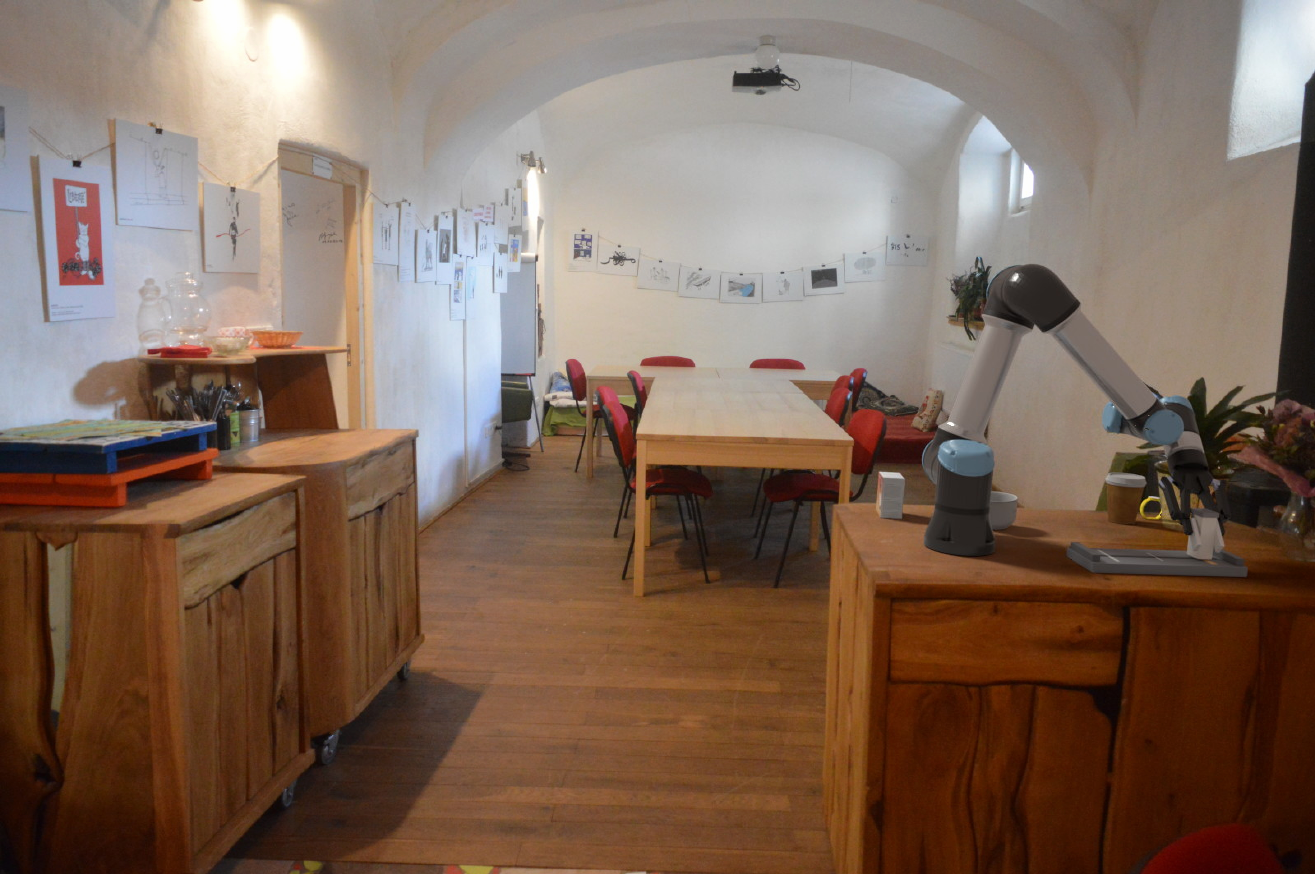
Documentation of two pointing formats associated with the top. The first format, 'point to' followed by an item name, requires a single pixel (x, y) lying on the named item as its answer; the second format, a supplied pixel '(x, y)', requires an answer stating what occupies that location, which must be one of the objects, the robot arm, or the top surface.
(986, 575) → the top surface
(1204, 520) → the fader knob
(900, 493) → the small box
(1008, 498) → the teacup
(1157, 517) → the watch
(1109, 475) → the disposable coffee cup
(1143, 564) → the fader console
